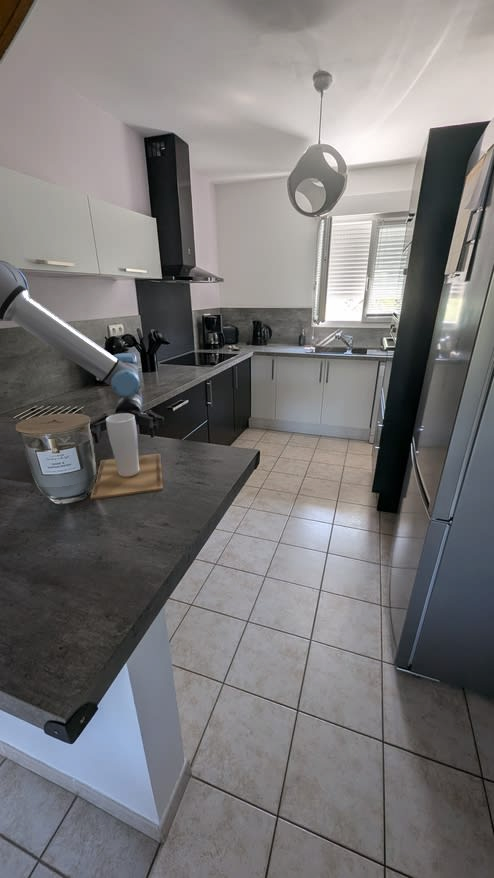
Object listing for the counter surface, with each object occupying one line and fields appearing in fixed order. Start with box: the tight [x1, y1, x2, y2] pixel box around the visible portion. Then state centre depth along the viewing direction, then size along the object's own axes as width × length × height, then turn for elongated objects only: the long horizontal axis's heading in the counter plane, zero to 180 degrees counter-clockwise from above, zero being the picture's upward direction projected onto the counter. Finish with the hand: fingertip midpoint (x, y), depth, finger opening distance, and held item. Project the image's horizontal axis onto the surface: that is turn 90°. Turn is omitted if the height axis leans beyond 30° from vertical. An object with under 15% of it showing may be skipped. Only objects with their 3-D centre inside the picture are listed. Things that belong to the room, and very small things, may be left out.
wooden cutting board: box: [89, 453, 164, 501], centre depth 91 cm, size 20×16×1 cm
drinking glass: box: [106, 413, 140, 477], centre depth 88 cm, size 7×7×15 cm
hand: (124, 435), depth 90 cm, fingers open, 13 cm apart
